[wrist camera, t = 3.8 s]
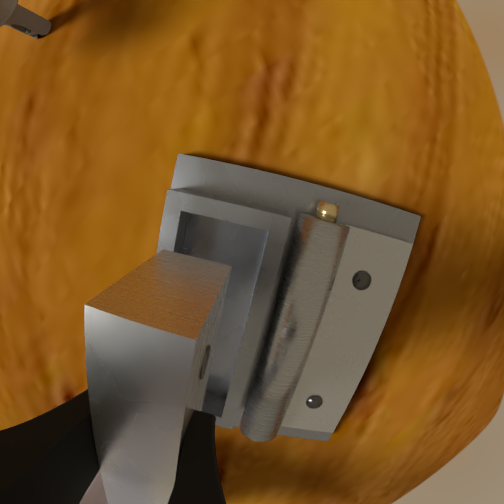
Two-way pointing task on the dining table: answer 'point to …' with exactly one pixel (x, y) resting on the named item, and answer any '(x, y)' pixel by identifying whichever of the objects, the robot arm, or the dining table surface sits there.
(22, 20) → the mechanical component
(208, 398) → the fixed leaf
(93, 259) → the dining table surface
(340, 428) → the dining table surface
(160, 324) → the brushed steel bar
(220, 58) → the dining table surface
